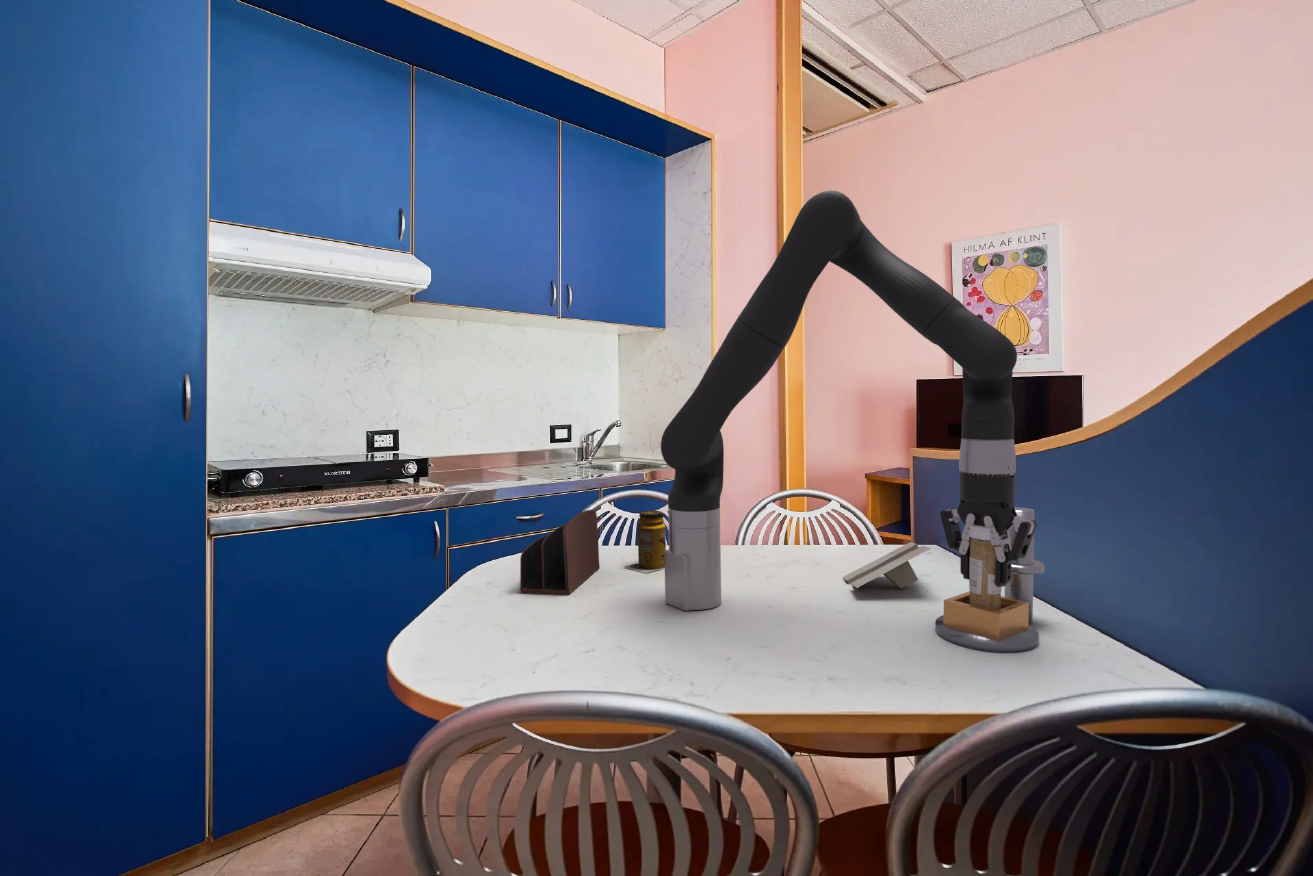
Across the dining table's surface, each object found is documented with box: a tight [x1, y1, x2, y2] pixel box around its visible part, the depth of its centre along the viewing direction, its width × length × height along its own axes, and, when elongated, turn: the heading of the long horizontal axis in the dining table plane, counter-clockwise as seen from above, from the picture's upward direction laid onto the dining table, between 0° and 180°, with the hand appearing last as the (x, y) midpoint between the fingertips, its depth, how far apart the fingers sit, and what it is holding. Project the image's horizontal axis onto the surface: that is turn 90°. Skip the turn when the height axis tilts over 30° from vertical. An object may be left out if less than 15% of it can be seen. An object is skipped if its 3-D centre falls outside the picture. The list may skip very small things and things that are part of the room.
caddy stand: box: [934, 507, 1046, 654], centre depth 102 cm, size 20×14×18 cm
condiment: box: [623, 510, 667, 574], centre depth 145 cm, size 7×8×12 cm
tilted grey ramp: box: [842, 541, 932, 589], centre depth 126 cm, size 16×9×15 cm
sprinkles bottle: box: [968, 525, 1003, 611], centre depth 100 cm, size 5×5×14 cm
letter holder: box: [519, 509, 600, 597], centre depth 135 cm, size 10×20×14 cm, turn 168°
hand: (985, 581), depth 100 cm, fingers closed on sprinkles bottle, 4 cm apart
